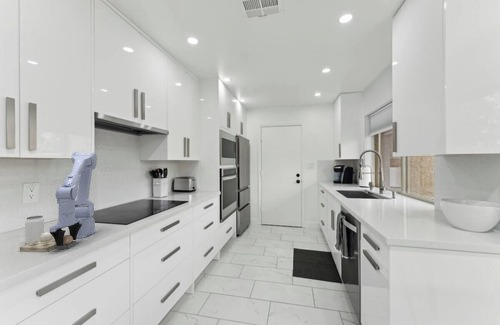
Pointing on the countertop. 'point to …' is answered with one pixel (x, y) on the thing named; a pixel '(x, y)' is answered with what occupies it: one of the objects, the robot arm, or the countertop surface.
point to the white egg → (46, 236)
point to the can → (33, 229)
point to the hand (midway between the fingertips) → (66, 242)
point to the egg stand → (67, 245)
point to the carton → (39, 246)
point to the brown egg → (67, 239)
